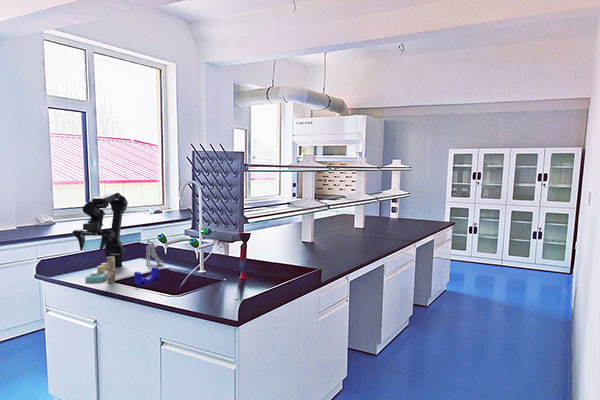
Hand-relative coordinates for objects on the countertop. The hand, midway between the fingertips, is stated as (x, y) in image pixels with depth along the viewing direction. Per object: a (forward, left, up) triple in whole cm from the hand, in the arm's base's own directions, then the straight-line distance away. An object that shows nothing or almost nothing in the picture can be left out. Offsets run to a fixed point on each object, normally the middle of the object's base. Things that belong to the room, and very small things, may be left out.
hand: (90, 250), depth 196 cm
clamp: (-35, -13, -16) cm, 41 cm away
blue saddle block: (-22, +16, -16) cm, 32 cm away
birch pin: (-7, +7, -16) cm, 19 cm away
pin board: (-5, -5, -16) cm, 17 cm away
